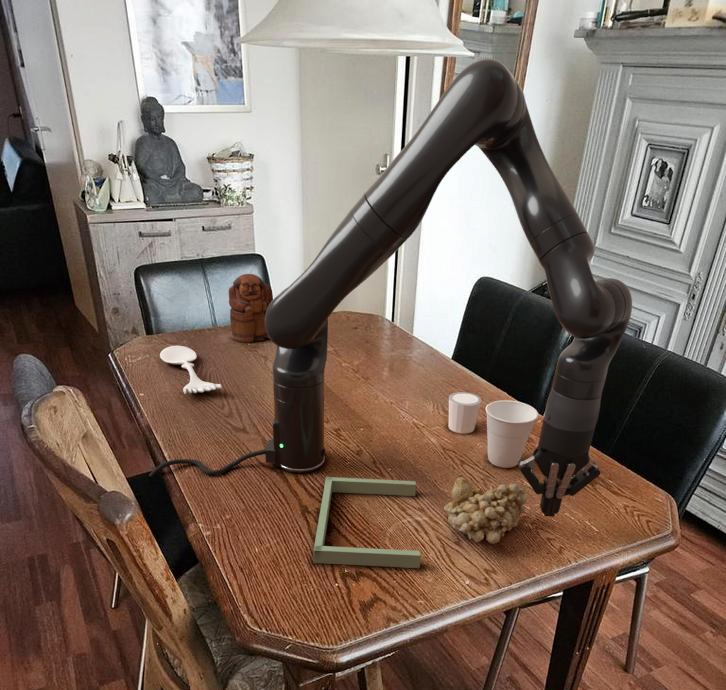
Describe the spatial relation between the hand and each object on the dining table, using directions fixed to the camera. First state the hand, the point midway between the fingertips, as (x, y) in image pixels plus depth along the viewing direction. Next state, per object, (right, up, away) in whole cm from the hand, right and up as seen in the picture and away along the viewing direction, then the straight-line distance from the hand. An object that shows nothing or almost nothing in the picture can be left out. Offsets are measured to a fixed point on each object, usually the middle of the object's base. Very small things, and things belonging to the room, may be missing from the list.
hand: (547, 513), depth 103 cm
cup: (-2, +9, +23) cm, 24 cm away
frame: (-29, -2, +2) cm, 29 cm away
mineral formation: (-11, -3, +2) cm, 12 cm away
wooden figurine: (-62, +47, +79) cm, 110 cm away
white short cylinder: (-9, +17, +35) cm, 39 cm away
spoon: (-74, +32, +54) cm, 96 cm away
